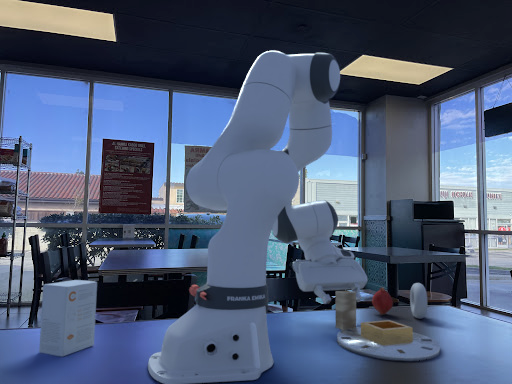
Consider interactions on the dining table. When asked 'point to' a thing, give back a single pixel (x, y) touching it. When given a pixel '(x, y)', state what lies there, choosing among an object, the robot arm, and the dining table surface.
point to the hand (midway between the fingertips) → (343, 301)
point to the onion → (382, 301)
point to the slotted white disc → (388, 341)
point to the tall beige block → (345, 309)
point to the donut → (418, 300)
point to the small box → (68, 317)
